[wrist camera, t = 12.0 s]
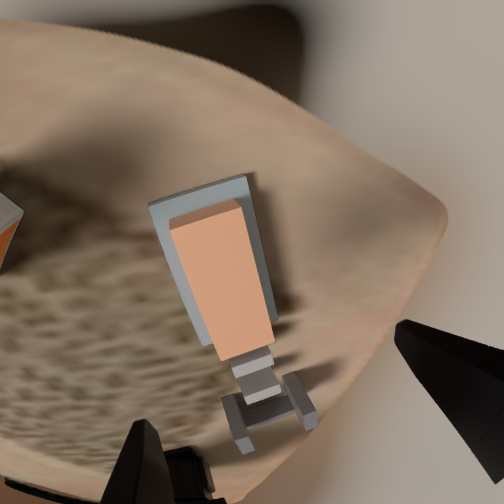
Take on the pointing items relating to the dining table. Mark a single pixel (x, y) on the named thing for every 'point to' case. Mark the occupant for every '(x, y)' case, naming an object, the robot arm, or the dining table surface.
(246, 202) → the mat
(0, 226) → the skincare box
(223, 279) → the bar
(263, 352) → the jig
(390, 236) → the dining table surface
